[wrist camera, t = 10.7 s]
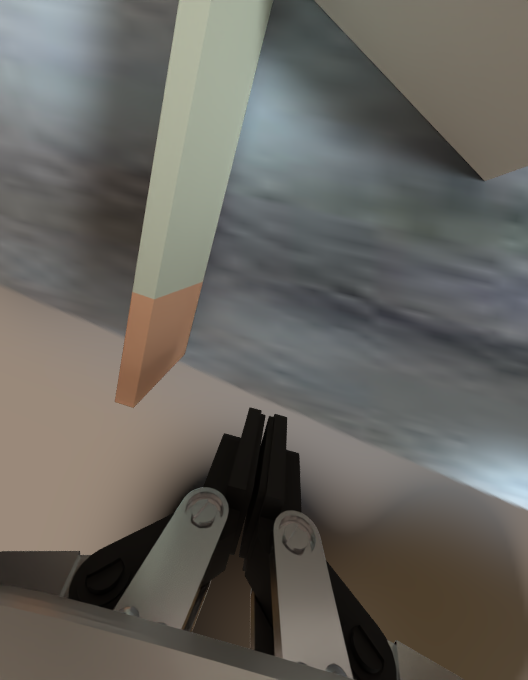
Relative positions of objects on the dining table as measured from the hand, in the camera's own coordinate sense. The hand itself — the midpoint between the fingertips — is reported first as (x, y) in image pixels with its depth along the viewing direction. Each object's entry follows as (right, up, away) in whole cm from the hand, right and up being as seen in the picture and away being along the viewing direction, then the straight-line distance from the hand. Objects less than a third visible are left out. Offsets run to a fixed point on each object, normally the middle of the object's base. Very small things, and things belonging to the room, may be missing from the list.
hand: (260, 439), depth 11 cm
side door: (-3, +13, +6) cm, 15 cm away
